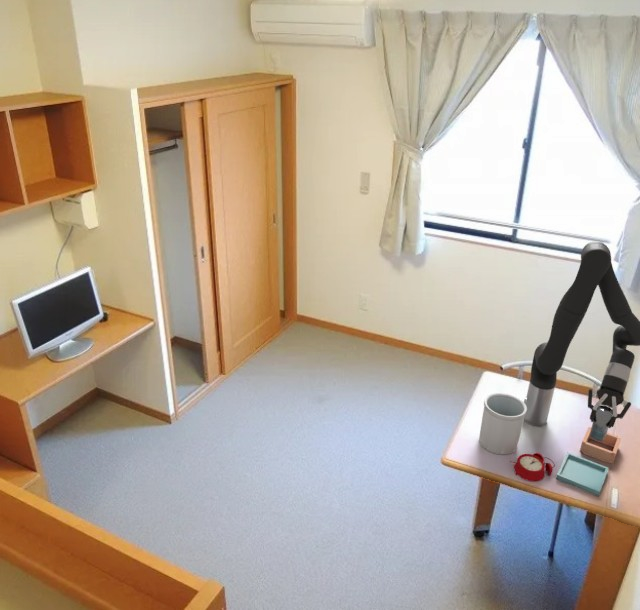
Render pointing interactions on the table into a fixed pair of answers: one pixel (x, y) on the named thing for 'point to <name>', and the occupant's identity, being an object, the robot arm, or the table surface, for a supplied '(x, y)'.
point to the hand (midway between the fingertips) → (600, 424)
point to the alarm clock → (532, 467)
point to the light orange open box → (599, 451)
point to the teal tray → (582, 473)
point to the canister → (601, 422)
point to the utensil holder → (502, 423)
